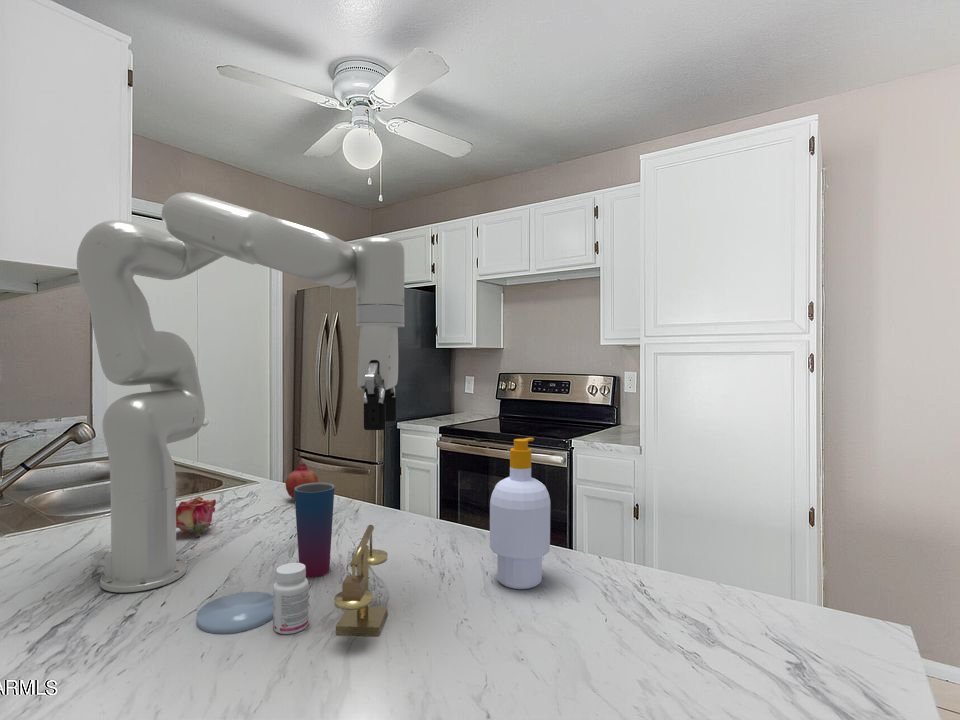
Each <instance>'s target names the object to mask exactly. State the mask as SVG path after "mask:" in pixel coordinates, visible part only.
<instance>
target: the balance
mask: <svg viewBox="0 0 960 720" xmlns="http://www.w3.org/2000/svg"><path fill="white" fill-rule="evenodd" d="M374 530H375V526H374V525H373V524H369V525H367V527H366V529H365V532H364V534H363V536H362V538H361V540H360V542H359V545H358V546H357V547H356V551H355V553H354V554H353V557H352V559H351V561H350V563H349V565H350V567H351V574H349V575H346V576H345V578H344V579H343V580H342V582H341V583H342V585H341V589H342V590H341V591H339V593H336V595H334V601H333V603H334V606H335V607H336V608H338V609H341V610H344V611H343V614H342V615H341V616H340V618H339V620H338V622H337V623H336V625H335V635H336V636H362V637H364V636H365V637H366V636H367V637H379V636H380V635H381V632H382V629H383V627H384V625H385V623H386V620H387V617H388V615H389V609H388V608H389V607H388V606H370V605H371V604H372V602H373V600H374V599H373V593H372V591H370V590H369V588H370V587H369V574H370V573H369V567H372V566H379V565H381V564H384V563H385V562H387V560H388V552H387V551H385V550H383V549H375V548H374V549H373V533H374ZM368 544H369V545H368Z"/></svg>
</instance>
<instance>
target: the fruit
mask: <svg viewBox="0 0 960 720" xmlns="http://www.w3.org/2000/svg"><path fill="white" fill-rule="evenodd" d="M318 478H319V477H318V475H317V474H316V473H315V471H314V470H311V469H309V468H308V466H307V464H306V463H305V462H304V461H300V462H299V463H298V465H297V467H296V469H295V470H293V471H292V472H291V473H289V474H288V475H287V477H286V480H285V489H286V492H287V494H288V496H290V497H291V498H292V499H293V500H295V494H294V488H295V487H297V486H299V485H302V484H308V483H319V479H318Z"/></svg>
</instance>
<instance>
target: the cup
mask: <svg viewBox="0 0 960 720" xmlns="http://www.w3.org/2000/svg"><path fill="white" fill-rule="evenodd" d="M335 487H336V486H335V484H332V483H329V482H318V483H308V484H302V485H299V486H297V487H295V488H294V494H295V499H294V504H295V505H294V506H295V508H294V509H295V522H296V535H297V537H296V539H297V549H298V550H297V553H298V563H302V564H304V565H305V567H306V577H305V578H310V579H311V578H319V577H324V576H325V575H327V574H328V573H329V572H330V567H331V565H330V564H331V550H332V535H333V534H332V533H333V520H334V519H333V516H334V503H335V502H334V501H335Z"/></svg>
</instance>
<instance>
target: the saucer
mask: <svg viewBox="0 0 960 720" xmlns="http://www.w3.org/2000/svg"><path fill="white" fill-rule="evenodd" d="M272 620H273V594H271V593H268V592H265V591H243V592H241V591H240V592H236V593H230V594H226V595H223V596H221V597H217V598H215V599H212V600H211V601H209V602H207V603H205V604H204V605H203V606H201V608H200V609H199V610H198V611H197V613H196V624H197V627H198V628H199V629H200V630H201V631H203V632H206V633H210V634H217V635H218V634H219V635H226V634H227V635H228V634H237V633H240V632H241V633H243V632H246V631H249V630H250V631H251V630H253V629H256V628H259V627H260V626H263V625H265V624H266V623H268V622H270V621H272Z"/></svg>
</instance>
